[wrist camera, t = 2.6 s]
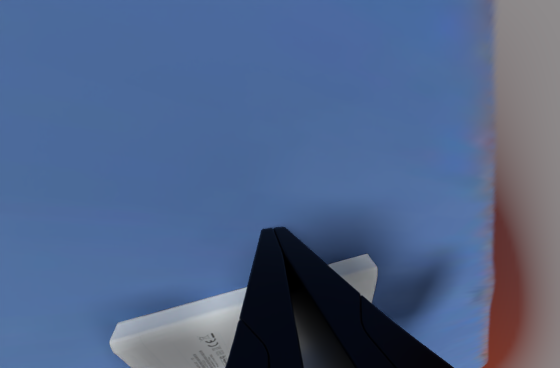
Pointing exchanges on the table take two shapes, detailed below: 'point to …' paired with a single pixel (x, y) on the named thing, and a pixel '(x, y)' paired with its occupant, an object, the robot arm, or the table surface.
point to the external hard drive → (207, 325)
